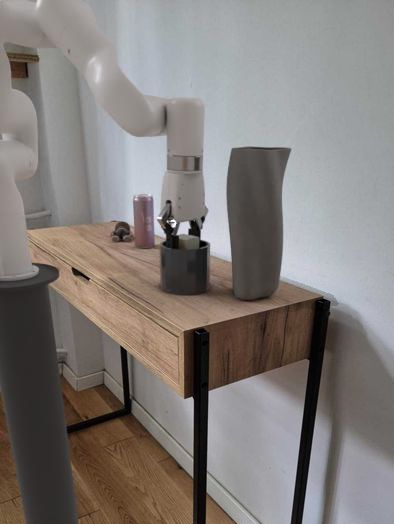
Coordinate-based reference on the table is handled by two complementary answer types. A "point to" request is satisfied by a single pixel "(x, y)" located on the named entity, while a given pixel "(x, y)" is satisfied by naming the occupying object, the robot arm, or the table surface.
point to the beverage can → (143, 220)
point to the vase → (256, 218)
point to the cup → (185, 269)
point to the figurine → (121, 232)
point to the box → (188, 242)
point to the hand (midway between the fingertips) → (183, 249)
